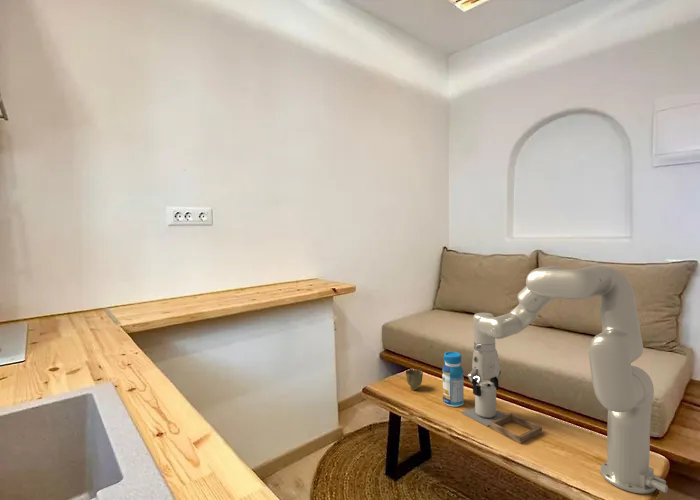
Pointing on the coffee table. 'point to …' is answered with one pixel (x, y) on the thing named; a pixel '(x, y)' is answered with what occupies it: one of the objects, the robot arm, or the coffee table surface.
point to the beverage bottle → (453, 380)
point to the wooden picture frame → (520, 439)
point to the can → (486, 400)
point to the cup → (414, 378)
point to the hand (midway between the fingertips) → (485, 391)
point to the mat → (484, 421)
